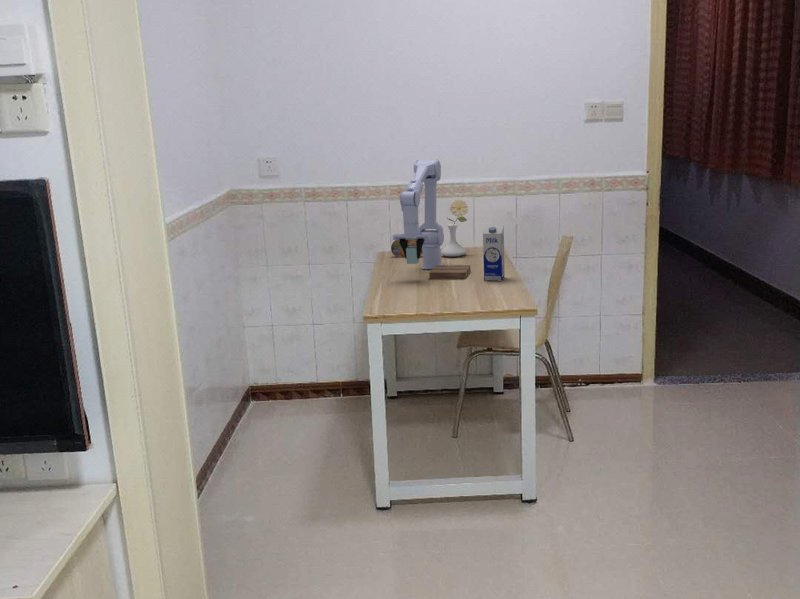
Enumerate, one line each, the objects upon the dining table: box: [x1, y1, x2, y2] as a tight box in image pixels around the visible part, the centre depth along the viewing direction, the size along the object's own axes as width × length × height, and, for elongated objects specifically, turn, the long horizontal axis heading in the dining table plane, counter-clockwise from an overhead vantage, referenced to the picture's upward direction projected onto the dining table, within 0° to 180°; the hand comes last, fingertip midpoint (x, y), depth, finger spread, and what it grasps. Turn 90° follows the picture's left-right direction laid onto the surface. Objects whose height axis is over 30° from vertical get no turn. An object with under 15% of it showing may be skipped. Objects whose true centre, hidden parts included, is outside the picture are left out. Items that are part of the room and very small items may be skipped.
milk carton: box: [482, 225, 506, 281], centre depth 298 cm, size 7×7×20 cm
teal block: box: [406, 246, 420, 265], centre depth 303 cm, size 4×4×6 cm
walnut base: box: [428, 264, 471, 280], centre depth 311 cm, size 14×14×2 cm
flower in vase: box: [440, 198, 469, 258], centre depth 347 cm, size 13×11×25 cm
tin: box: [390, 239, 423, 259], centre depth 353 cm, size 15×3×8 cm, turn 77°
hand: (412, 258), depth 304 cm, fingers closed on teal block, 4 cm apart
